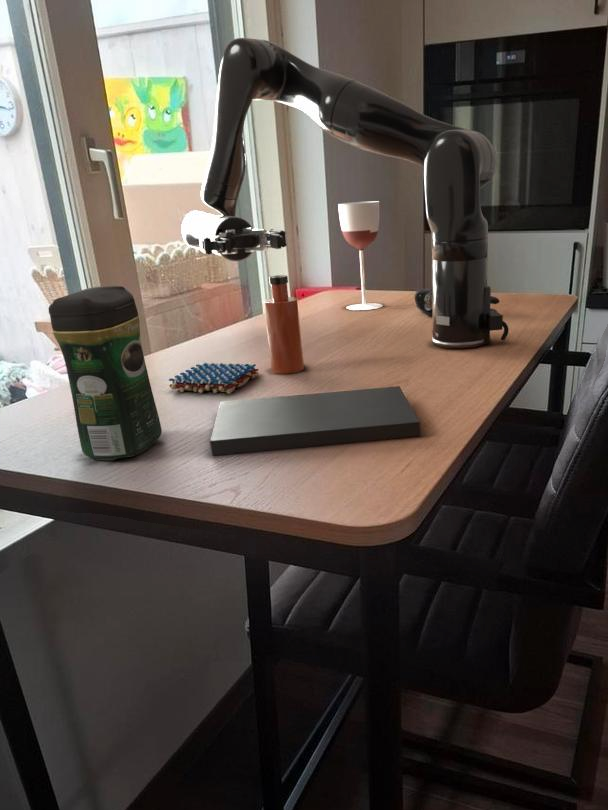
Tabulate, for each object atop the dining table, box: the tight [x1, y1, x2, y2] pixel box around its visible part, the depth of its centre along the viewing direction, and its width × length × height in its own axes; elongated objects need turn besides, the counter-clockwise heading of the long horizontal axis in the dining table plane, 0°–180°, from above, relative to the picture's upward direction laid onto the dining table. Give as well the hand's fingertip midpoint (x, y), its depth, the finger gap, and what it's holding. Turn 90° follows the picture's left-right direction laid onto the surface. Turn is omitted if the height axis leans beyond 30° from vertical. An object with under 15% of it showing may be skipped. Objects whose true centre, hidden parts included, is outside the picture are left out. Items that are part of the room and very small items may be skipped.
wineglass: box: [337, 200, 384, 311], centre depth 155 cm, size 9×10×22 cm
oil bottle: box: [263, 274, 305, 375], centre depth 109 cm, size 5×5×14 cm
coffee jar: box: [48, 285, 163, 461], centre depth 80 cm, size 10×8×19 cm
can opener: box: [414, 288, 501, 317], centre depth 143 cm, size 18×7×6 cm, turn 67°
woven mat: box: [168, 362, 260, 395], centre depth 107 cm, size 10×11×2 cm
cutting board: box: [209, 385, 421, 456], centre depth 87 cm, size 24×15×2 cm, turn 96°
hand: (254, 244), depth 114 cm, fingers open, 8 cm apart
